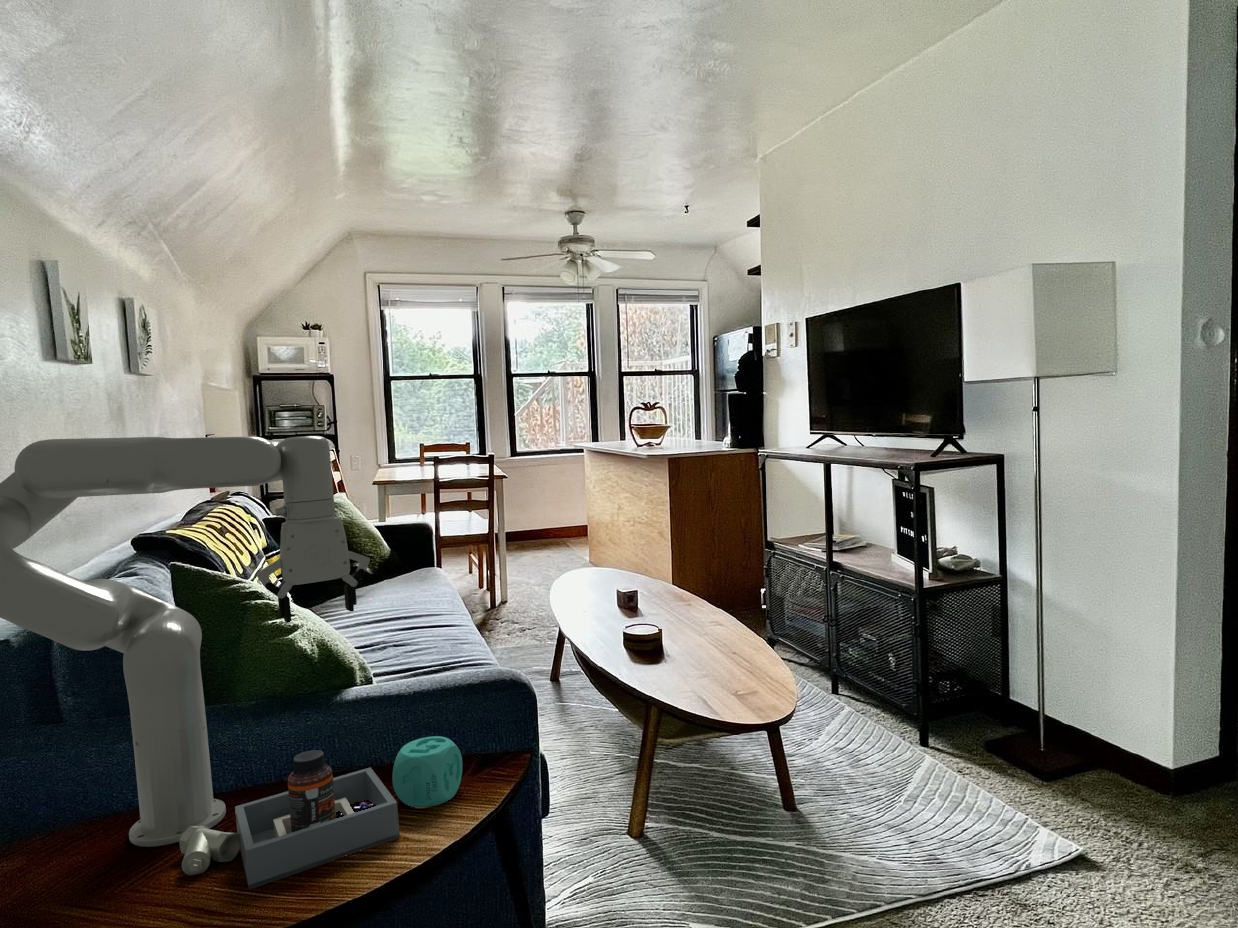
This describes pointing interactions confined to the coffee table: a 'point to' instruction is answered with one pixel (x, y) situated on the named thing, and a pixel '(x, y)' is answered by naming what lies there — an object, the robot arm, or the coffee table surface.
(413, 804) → the decorative dice
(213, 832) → the pipe fitting
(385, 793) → the box
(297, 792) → the supplement bottle
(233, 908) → the coffee table surface
